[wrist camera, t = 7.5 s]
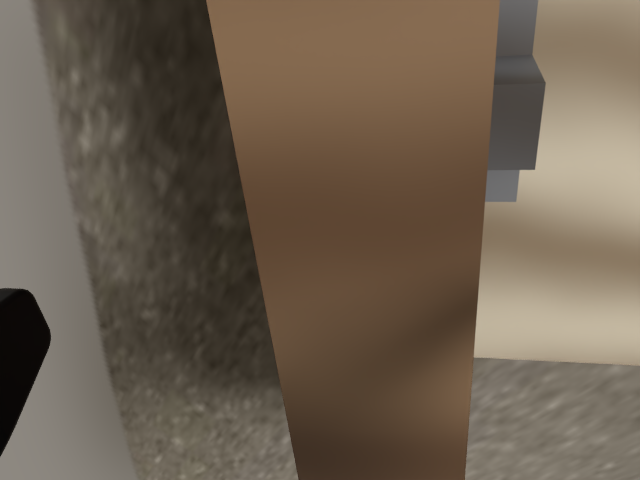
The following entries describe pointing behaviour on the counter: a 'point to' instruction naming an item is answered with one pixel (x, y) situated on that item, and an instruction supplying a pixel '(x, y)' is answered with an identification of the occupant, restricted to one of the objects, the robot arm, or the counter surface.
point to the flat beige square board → (563, 185)
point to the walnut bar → (366, 217)
